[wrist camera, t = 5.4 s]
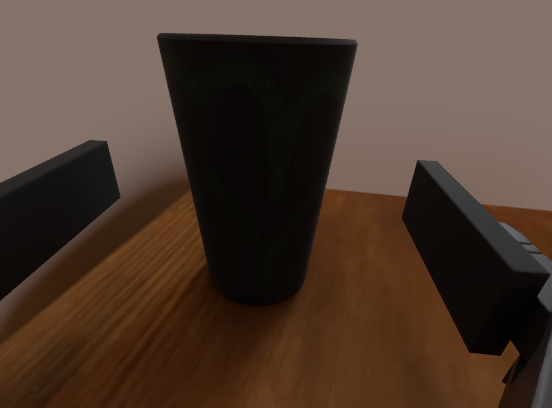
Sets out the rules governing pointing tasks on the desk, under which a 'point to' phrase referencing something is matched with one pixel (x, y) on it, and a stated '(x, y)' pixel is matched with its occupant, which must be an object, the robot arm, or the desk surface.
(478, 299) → the robot arm
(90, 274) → the desk surface
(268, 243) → the cup
